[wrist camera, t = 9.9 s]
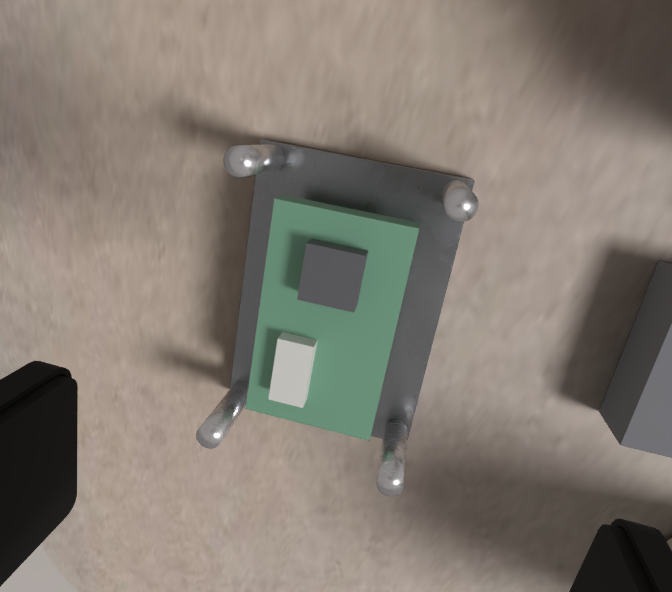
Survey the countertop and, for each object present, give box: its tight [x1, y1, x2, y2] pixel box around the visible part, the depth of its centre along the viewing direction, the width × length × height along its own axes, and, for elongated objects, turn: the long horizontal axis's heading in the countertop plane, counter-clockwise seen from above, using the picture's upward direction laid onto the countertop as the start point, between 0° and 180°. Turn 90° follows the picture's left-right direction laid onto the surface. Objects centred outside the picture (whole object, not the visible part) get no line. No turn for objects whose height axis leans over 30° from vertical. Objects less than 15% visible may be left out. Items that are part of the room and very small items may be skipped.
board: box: [245, 195, 420, 441], centre depth 22 cm, size 10×6×2 cm, turn 170°
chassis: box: [196, 140, 478, 496], centre depth 24 cm, size 14×10×6 cm
